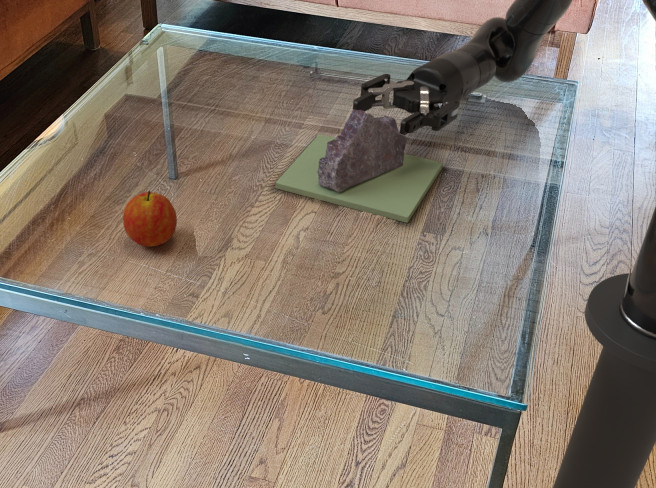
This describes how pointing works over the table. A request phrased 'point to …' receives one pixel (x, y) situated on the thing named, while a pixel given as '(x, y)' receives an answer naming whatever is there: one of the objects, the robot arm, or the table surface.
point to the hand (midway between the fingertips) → (378, 118)
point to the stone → (361, 151)
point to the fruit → (149, 219)
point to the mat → (364, 184)
